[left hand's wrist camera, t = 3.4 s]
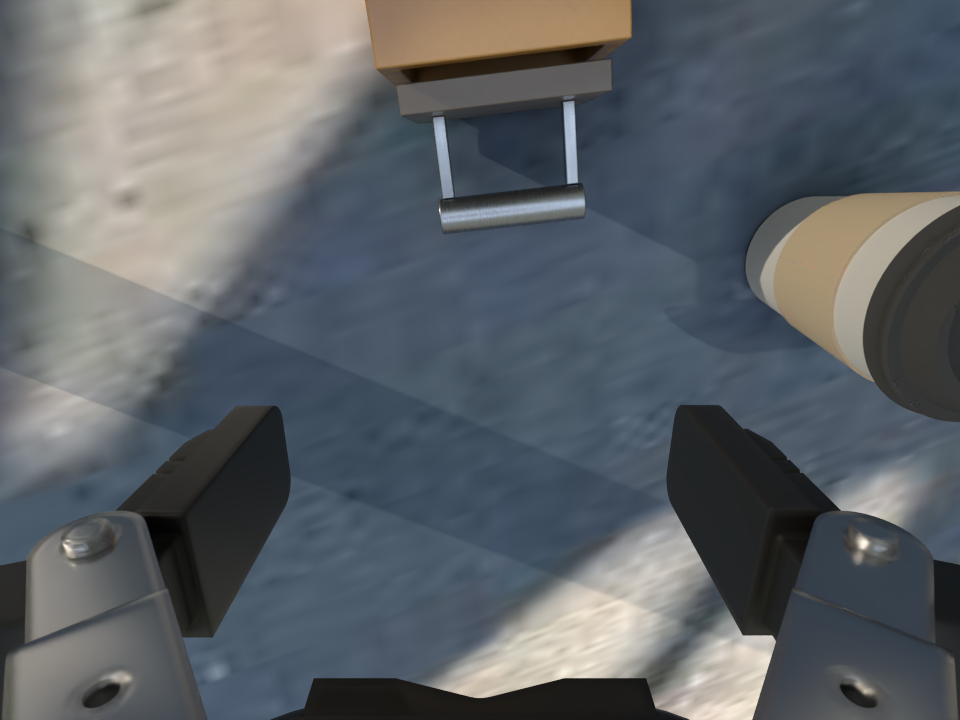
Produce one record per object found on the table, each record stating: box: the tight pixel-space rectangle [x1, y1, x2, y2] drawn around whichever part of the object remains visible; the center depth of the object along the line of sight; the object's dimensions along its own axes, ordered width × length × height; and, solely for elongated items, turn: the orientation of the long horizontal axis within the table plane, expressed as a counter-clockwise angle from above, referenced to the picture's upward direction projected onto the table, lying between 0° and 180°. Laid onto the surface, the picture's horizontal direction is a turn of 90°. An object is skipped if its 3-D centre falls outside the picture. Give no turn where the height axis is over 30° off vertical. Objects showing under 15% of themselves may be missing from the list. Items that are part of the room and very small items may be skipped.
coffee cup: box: [746, 192, 960, 422], centre depth 26 cm, size 9×9×15 cm
